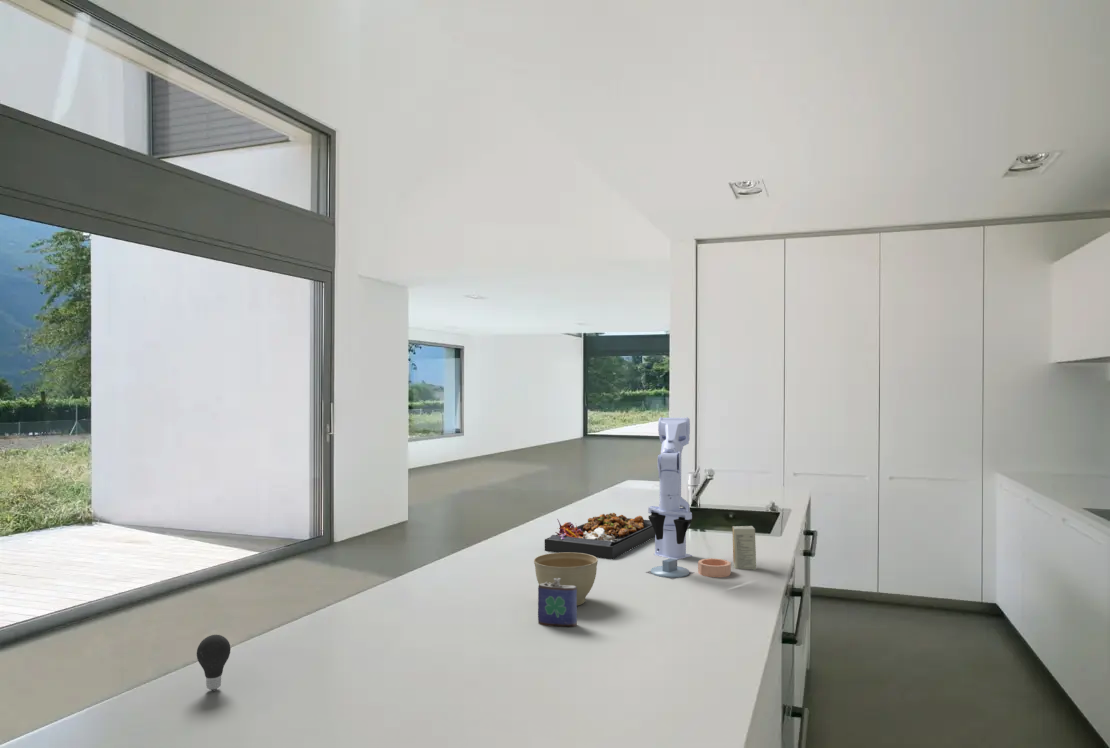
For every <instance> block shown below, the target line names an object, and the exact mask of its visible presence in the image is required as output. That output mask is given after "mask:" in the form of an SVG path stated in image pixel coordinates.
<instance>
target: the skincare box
mask: <svg viewBox="0 0 1110 748" xmlns="http://www.w3.org/2000/svg"><path fill="white" fill-rule="evenodd" d="M756 548H757V547H756V528H755V527H754V526H753V525H741V526H740V525H736V526H735V525H733V526H732V556H733V557H732V559H733V568H734V569H735V570H736V569H737V570H754V571H755V570H757V551H756Z"/></svg>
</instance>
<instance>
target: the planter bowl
mask: <svg viewBox="0 0 1110 748" xmlns="http://www.w3.org/2000/svg"><path fill="white" fill-rule="evenodd" d="M598 562H599V558H598V557H595V556H592V555H589V554H584V553H570V552H564V553H559V552H552V553H546V554H542V555H538V556H536V557H534V560H533V564H534V569H535V576H536V581H537V583H538V585H539V584H541V583H545V582H547V583H548V584H549V582H550V583H553V582H554V581H555V580H554V578H561V580H560V581H559V582H560V585H569V586H570V585H573V586H576V588H577V606H581V605H582V604H583V605H584V603H585V602H586V598H587V596H588V595H589V593H590V591H591V590H592V588H593V586H594V583H595V580H596V577H597V569H598V568H597V567H598Z"/></svg>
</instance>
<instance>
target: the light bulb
mask: <svg viewBox="0 0 1110 748" xmlns="http://www.w3.org/2000/svg"><path fill="white" fill-rule="evenodd" d="M230 654H231V644H230V641H229V640H228V639H227V638H226V637H225V636H223V635H220V634H212V635H211V634H210V635H208V636H206V637H205V638H203V639H202V640H201V642H200V643H199V644H198V647H197V649H196V659H197V661H198V663H199V665H200V666H201V668H202V669H203V672H204V676H205V678H206V681H205V685H206V689H208V690H210V691H211V692H215V691H217V690H218V689H219V688H220V687H221V686H222V675H223V672H224V667H225V665H226V663H227V662H228V660H229V658H230Z"/></svg>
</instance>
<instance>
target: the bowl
mask: <svg viewBox="0 0 1110 748" xmlns="http://www.w3.org/2000/svg"><path fill="white" fill-rule="evenodd" d="M697 572H698V574H699V575H701V576H704V577H709V578H726V577H729V576H731V572H732V562H731V561H729V560H727V559H722V558H714V557H713V558H712V557H711V558H702V559H699V560H698V562H697Z"/></svg>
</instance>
